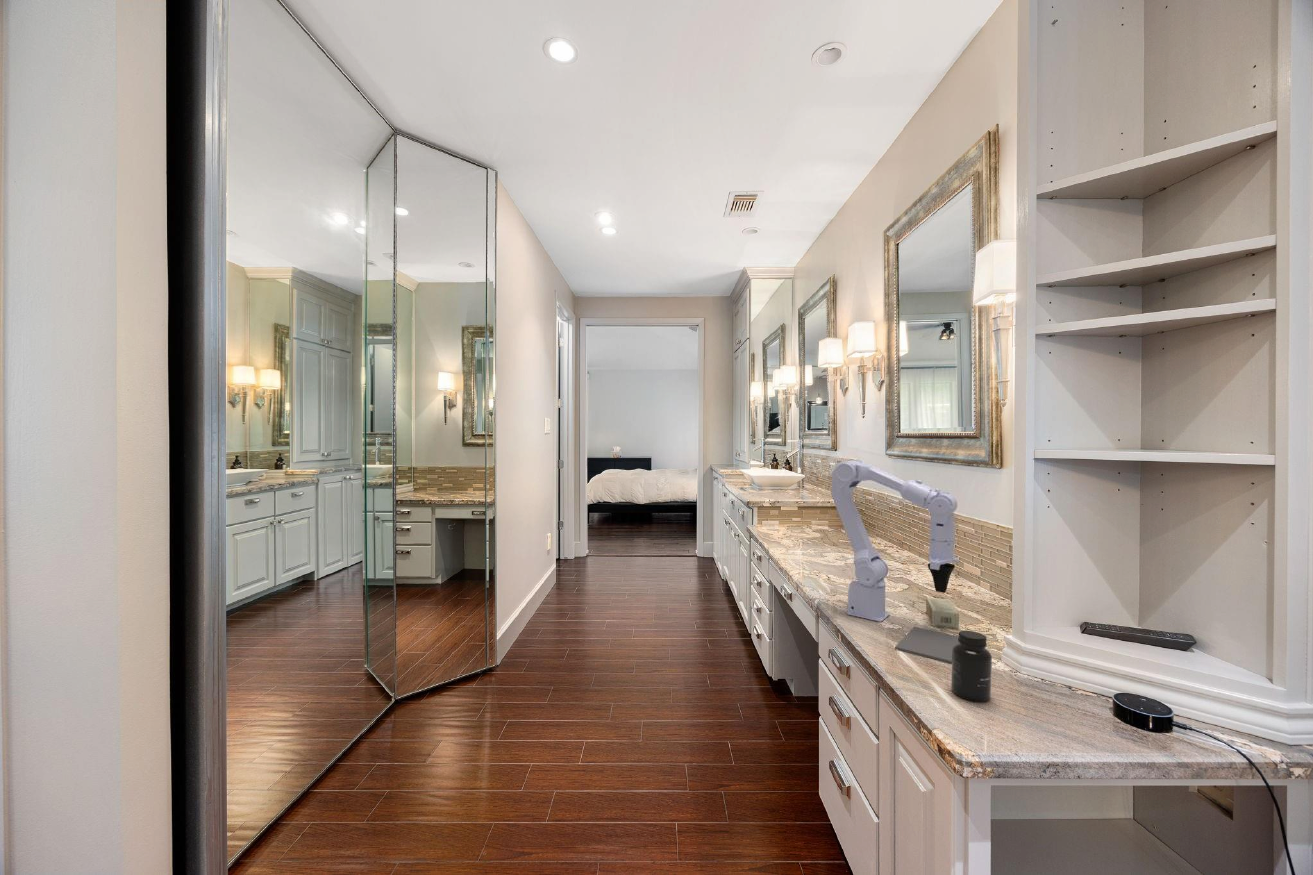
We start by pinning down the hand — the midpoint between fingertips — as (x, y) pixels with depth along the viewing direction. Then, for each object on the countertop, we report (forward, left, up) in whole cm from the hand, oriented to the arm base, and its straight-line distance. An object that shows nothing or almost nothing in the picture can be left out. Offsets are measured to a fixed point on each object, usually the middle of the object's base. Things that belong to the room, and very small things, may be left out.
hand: (940, 591), depth 141 cm
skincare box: (+1, +3, -8) cm, 9 cm away
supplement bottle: (+12, -33, -11) cm, 37 cm away
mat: (+1, -11, -10) cm, 15 cm away
